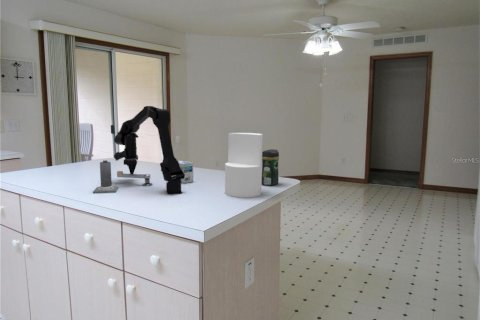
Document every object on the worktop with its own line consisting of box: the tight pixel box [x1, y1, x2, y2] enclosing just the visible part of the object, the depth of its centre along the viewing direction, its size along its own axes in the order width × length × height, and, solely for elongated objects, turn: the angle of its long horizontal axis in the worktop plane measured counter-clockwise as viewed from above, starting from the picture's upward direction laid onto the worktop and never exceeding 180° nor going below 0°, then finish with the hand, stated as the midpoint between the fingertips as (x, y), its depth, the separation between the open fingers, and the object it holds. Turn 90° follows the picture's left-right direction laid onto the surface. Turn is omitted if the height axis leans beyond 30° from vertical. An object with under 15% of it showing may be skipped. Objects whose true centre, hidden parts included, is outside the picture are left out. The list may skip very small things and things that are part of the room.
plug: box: [99, 159, 114, 190], centre depth 165 cm, size 6×6×13 cm
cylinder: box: [224, 132, 264, 198], centre depth 162 cm, size 17×17×28 cm
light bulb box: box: [174, 160, 194, 184], centre depth 187 cm, size 11×7×11 cm, turn 47°
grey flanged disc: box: [142, 178, 153, 187], centre depth 178 cm, size 5×5×3 cm
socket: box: [92, 185, 120, 194], centre depth 166 cm, size 10×10×1 cm
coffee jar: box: [261, 148, 280, 187], centre depth 182 cm, size 10×8×19 cm
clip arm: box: [116, 170, 151, 180], centre depth 178 cm, size 18×3×3 cm, turn 82°
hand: (131, 175), depth 183 cm, fingers closed
